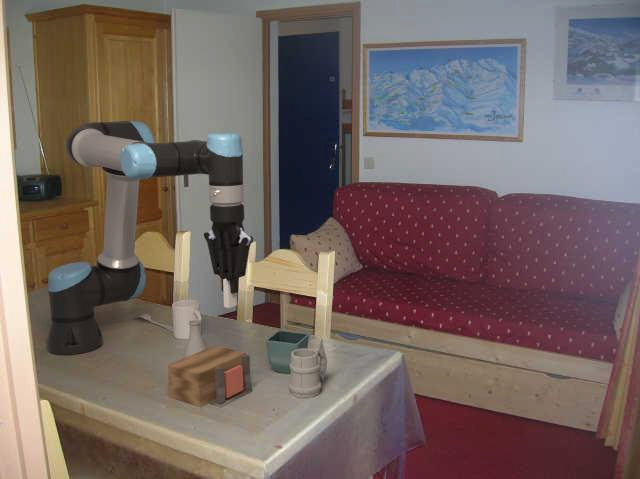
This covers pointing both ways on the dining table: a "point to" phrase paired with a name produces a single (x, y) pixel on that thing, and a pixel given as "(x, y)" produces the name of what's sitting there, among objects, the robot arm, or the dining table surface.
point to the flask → (194, 339)
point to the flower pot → (284, 348)
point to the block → (207, 376)
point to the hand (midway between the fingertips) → (230, 306)
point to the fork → (156, 322)
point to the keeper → (233, 381)
